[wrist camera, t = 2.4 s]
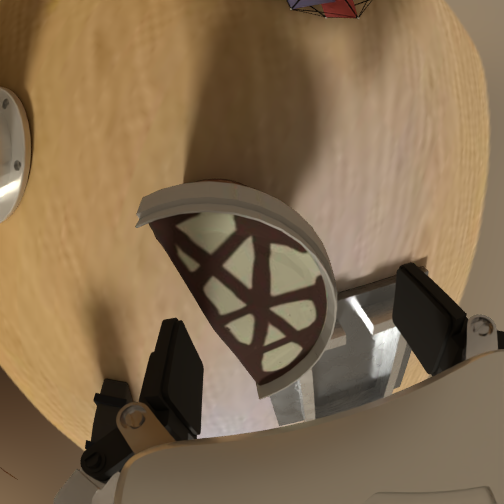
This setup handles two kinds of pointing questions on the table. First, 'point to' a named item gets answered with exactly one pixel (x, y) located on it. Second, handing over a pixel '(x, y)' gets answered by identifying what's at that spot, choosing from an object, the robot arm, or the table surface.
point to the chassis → (351, 358)
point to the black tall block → (108, 408)
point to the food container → (250, 274)
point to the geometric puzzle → (329, 7)
